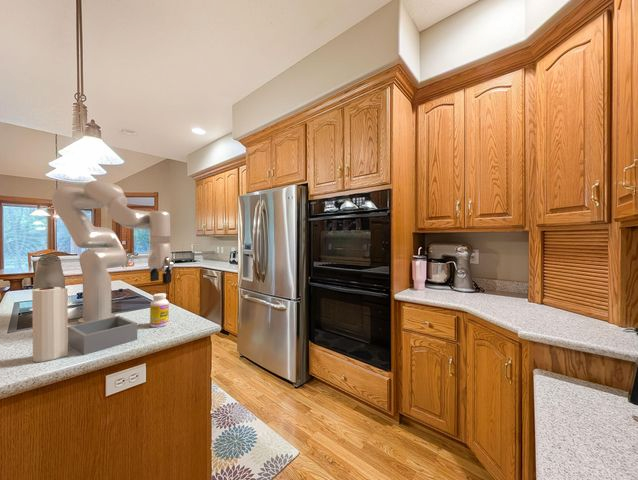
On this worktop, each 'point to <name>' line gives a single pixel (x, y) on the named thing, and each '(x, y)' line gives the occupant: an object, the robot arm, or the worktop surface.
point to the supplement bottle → (159, 310)
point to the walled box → (101, 334)
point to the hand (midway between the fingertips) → (160, 281)
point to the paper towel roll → (50, 323)
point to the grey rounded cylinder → (49, 273)
